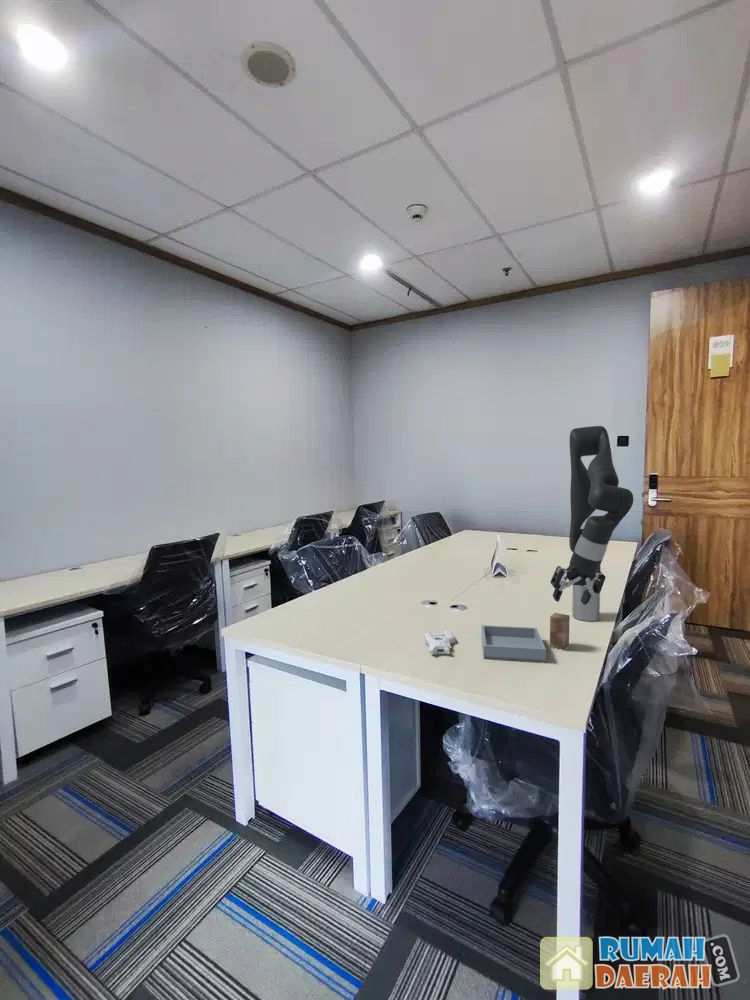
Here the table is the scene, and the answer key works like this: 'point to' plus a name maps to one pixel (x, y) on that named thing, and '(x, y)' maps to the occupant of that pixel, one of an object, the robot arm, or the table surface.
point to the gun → (439, 642)
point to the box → (512, 644)
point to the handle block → (559, 631)
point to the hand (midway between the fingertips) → (569, 601)
